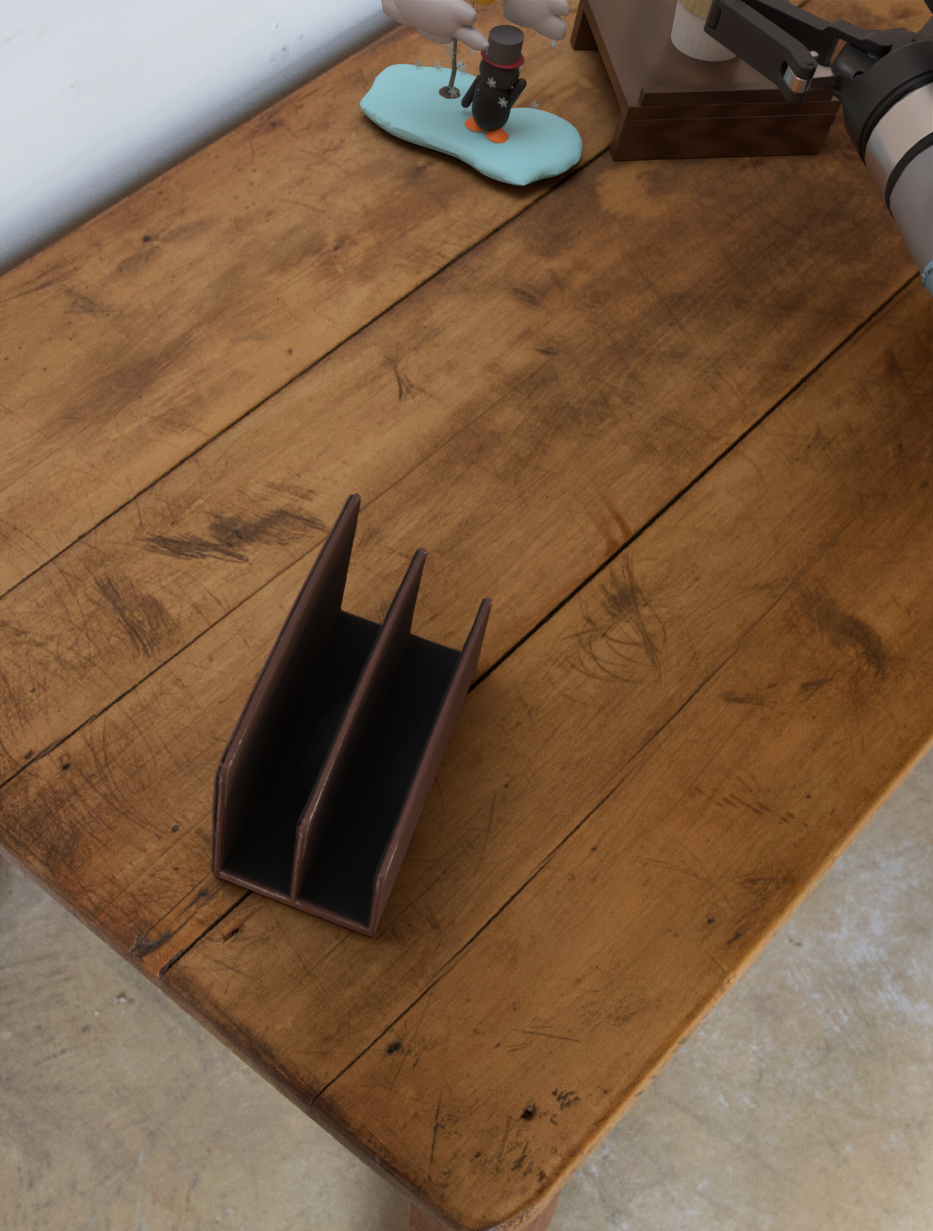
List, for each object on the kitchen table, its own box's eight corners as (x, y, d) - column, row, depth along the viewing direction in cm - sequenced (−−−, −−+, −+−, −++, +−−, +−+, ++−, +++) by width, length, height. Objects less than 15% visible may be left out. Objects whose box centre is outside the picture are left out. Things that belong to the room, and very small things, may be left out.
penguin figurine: (598, 154, 108) (648, -25, 95) (529, 215, 104) (572, 36, 91) (409, 65, 115) (432, -114, 102) (337, 118, 110) (351, -61, 97)
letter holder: (208, 877, 72) (204, 757, 60) (331, 616, 82) (348, 468, 70) (373, 942, 70) (403, 831, 58) (478, 666, 80) (522, 523, 68)
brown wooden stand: (759, 34, 118) (784, -33, 113) (819, 154, 108) (849, 86, 103) (569, 40, 117) (585, -28, 112) (613, 160, 108) (632, 93, 102)
